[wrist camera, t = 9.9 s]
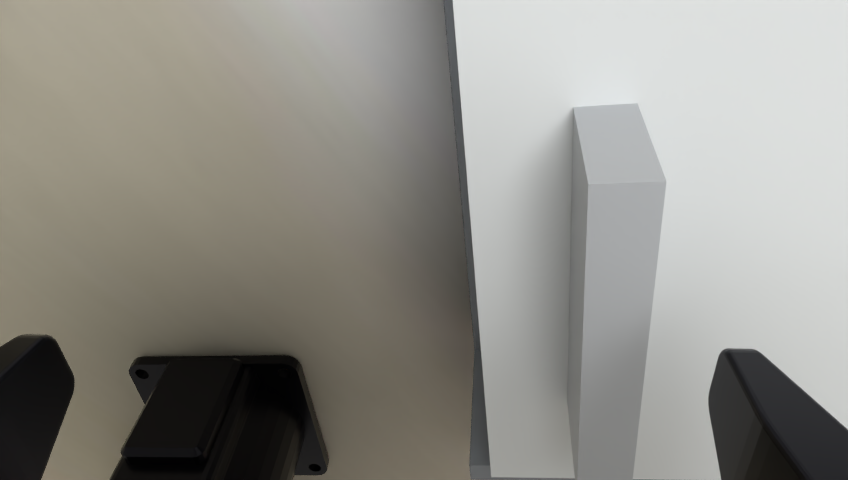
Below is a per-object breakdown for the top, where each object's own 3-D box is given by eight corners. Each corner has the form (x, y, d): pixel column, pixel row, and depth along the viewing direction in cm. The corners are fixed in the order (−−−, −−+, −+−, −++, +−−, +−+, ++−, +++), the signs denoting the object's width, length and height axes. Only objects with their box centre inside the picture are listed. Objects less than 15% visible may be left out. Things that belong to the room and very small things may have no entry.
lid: (995, 461, 16) (1083, 591, 13) (491, 456, 17) (489, 571, 15) (1372, -166, 9) (1712, -130, 6) (449, -78, 10) (432, -21, 8)
